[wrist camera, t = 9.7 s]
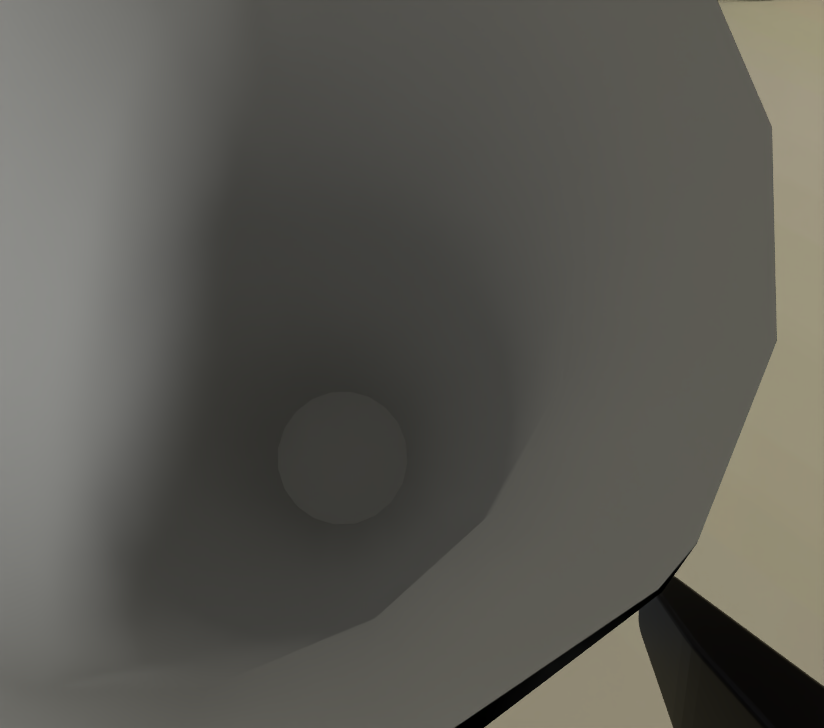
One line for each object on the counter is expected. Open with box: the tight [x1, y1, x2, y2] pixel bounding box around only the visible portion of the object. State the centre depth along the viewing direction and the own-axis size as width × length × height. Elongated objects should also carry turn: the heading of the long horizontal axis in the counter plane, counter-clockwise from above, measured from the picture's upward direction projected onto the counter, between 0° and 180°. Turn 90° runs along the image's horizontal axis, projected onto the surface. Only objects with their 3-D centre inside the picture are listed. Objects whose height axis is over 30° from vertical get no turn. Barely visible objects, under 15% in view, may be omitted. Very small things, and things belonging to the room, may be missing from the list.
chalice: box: [0, 0, 777, 728], centre depth 11 cm, size 7×7×18 cm
